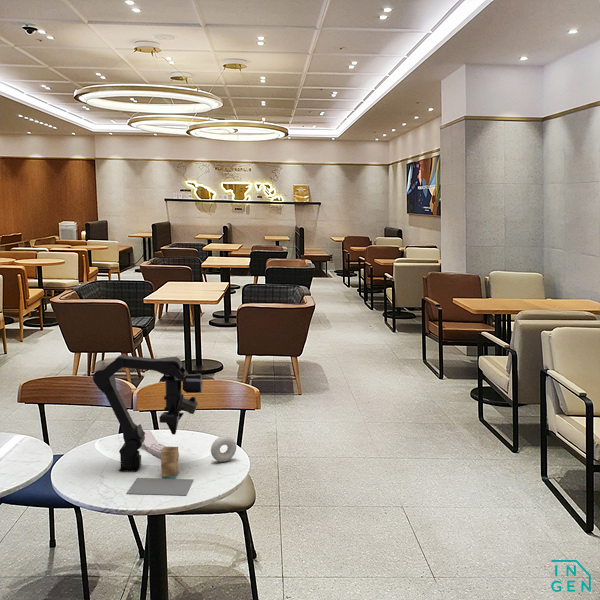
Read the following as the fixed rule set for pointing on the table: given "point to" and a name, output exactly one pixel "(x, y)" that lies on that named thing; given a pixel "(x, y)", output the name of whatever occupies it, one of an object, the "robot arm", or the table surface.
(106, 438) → the table surface
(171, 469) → the oak block
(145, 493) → the charcoal mat
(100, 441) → the table surface
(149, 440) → the mobile phone
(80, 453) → the table surface
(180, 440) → the table surface
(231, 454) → the donut
